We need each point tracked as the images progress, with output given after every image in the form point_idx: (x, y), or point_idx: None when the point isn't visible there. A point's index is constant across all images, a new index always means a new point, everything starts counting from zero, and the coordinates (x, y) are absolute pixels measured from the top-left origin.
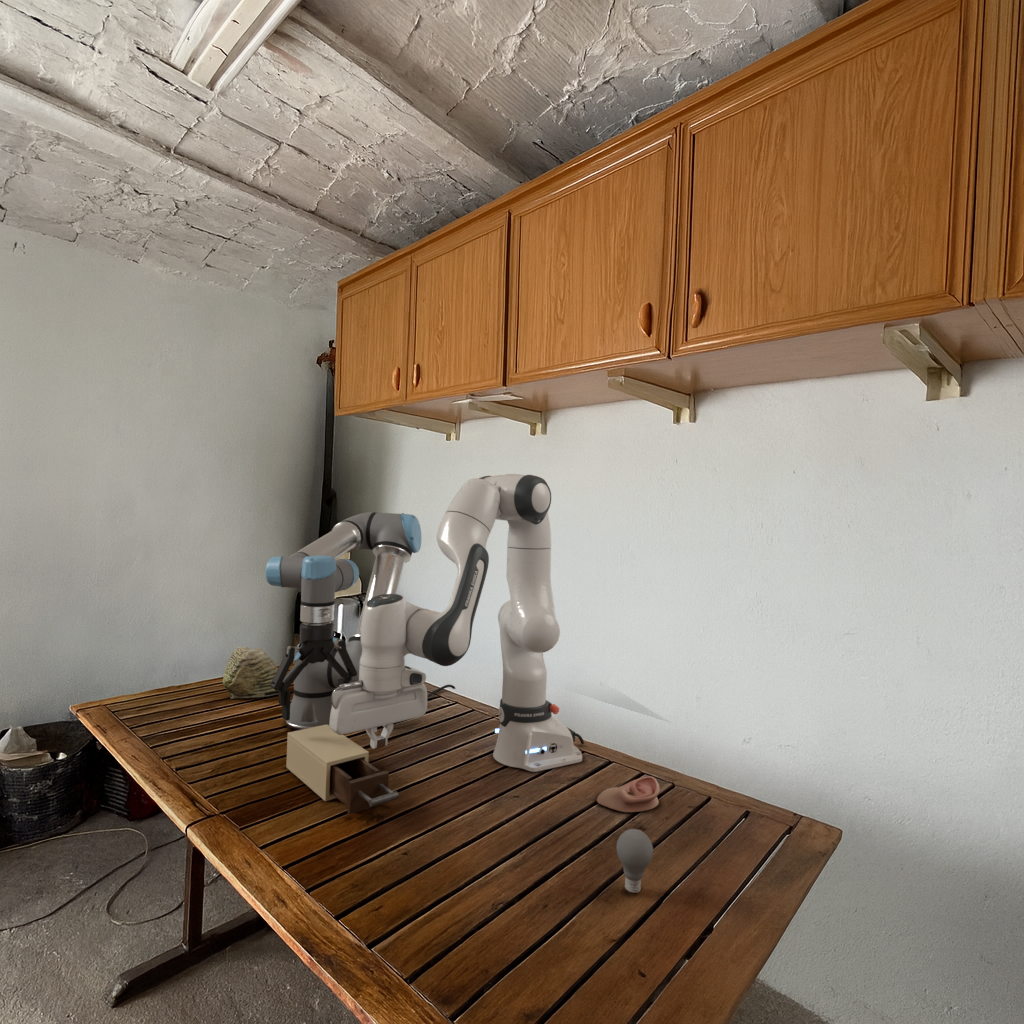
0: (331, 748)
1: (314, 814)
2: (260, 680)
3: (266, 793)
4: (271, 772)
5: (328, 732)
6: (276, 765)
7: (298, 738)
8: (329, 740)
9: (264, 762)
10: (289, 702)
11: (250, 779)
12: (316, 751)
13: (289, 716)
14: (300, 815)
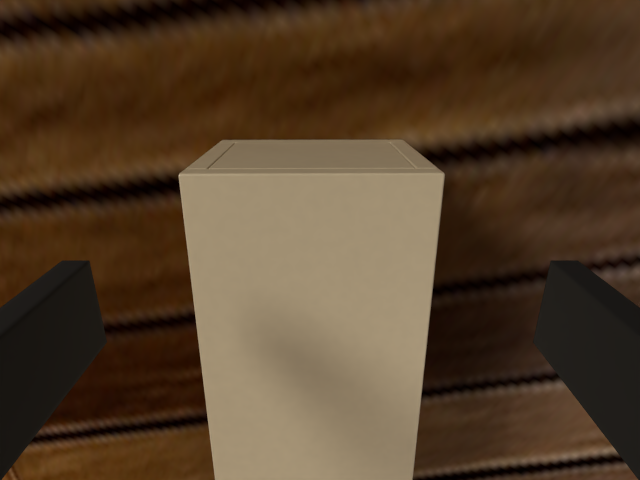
0: (297, 463)
1: (194, 471)
2: None
3: (102, 302)
4: (156, 149)
5: (381, 299)
6: (193, 91)
7: (206, 291)
8: (332, 389)
9: (153, 21)
10: (14, 451)
11: (67, 165)
12: (227, 460)
13: (91, 357)
14: (160, 459)
